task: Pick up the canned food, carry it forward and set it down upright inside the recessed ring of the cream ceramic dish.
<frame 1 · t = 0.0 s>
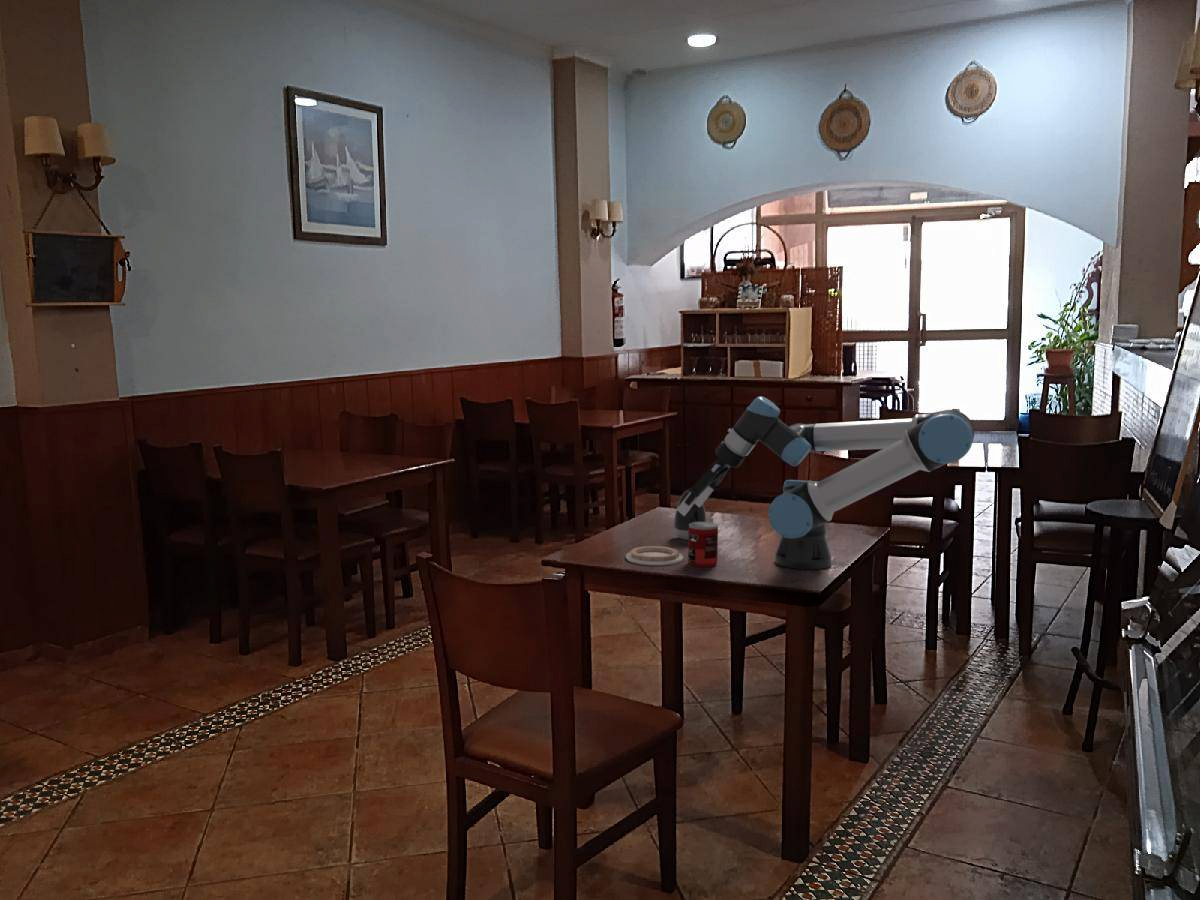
hand: (688, 508, 260), 15 cm above the table, tool tilted 35°, fingers open, 13 cm apart
dark grey rounded dome: (690, 539, 293), on the table
canned food: (702, 564, 262), on the table
dish: (654, 558, 267), on the table
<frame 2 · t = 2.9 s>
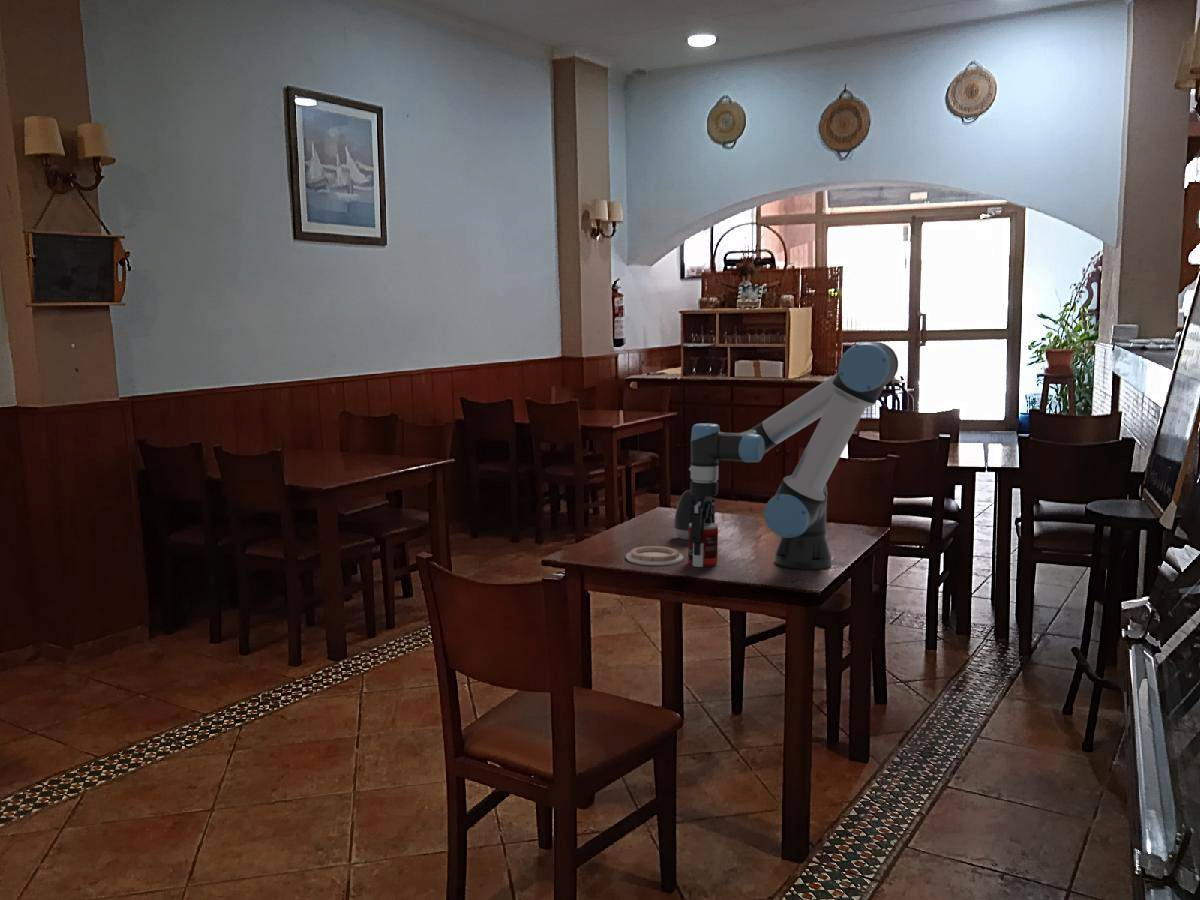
hand: (702, 562, 262), 0 cm above the table, tool pointing down, fingers closed on canned food, 8 cm apart
canned food: (702, 564, 262), on the table, touching gripper
everything else where it was.
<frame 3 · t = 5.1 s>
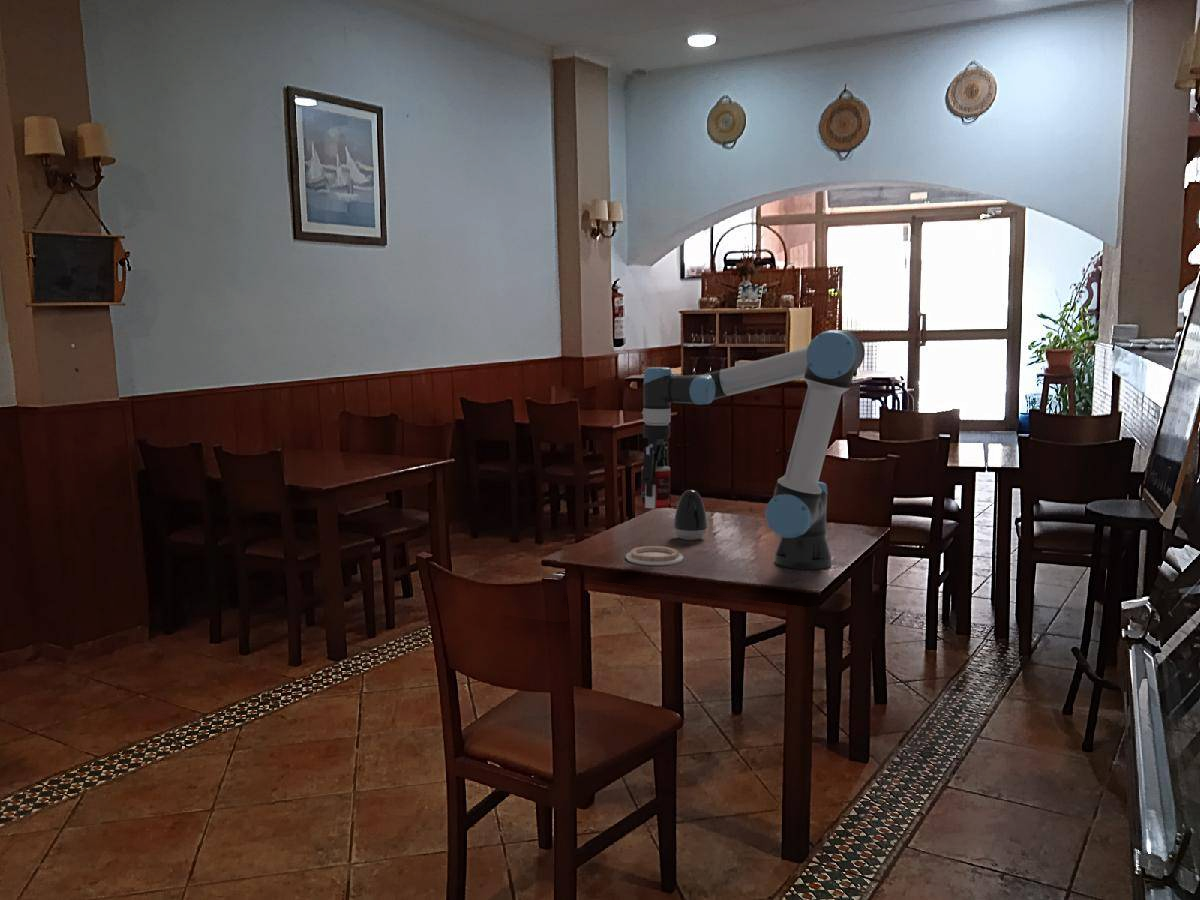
hand: (655, 505, 265), 15 cm above the table, tool pointing down, fingers closed on canned food, 8 cm apart
canned food: (655, 506, 266), point 15 cm above the table, touching gripper
everything else where it was.
when the fingers open (3 cm above the table, at t = 7.7 s): canned food drops 2 cm, resting on dish.
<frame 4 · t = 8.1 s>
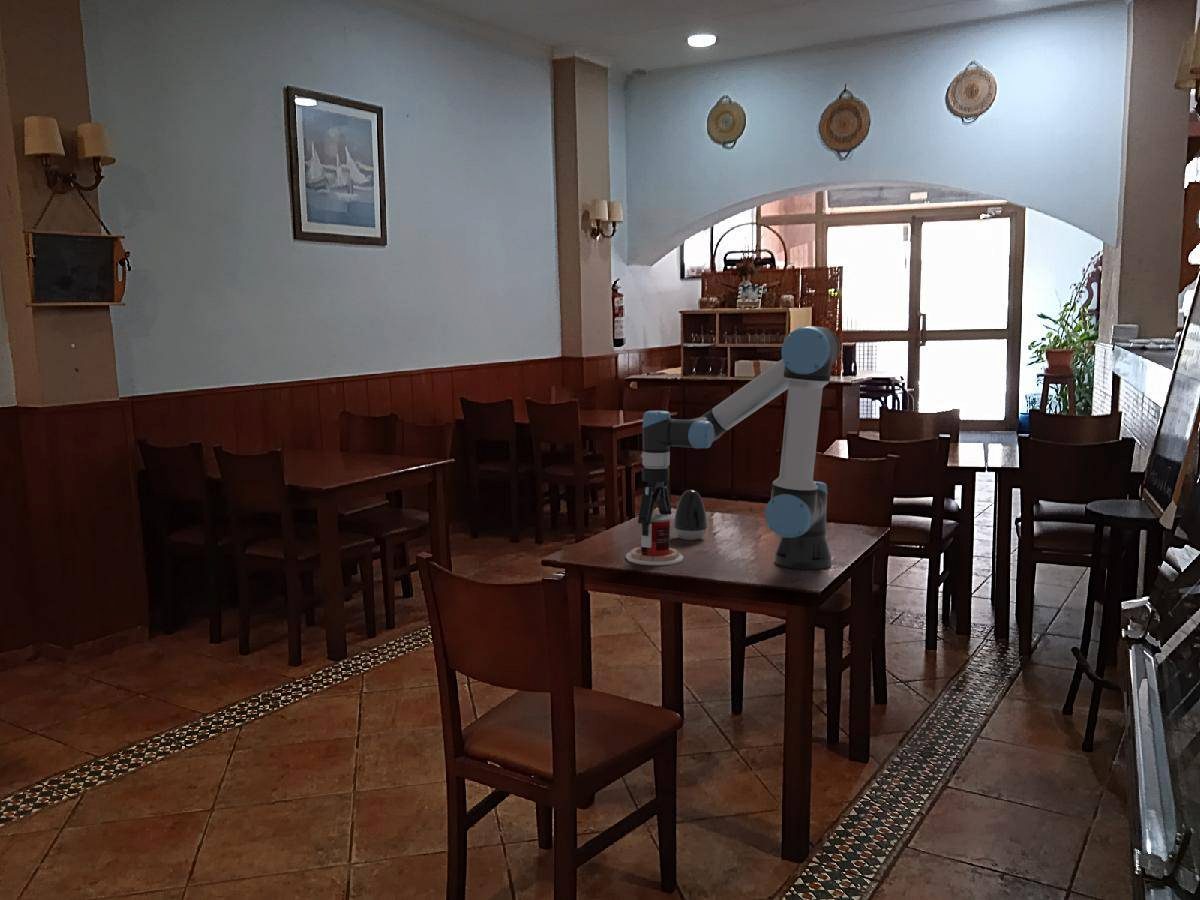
hand: (654, 542, 267), 5 cm above the table, tool pointing down, fingers open, 13 cm apart
canned food: (654, 556, 267), point 1 cm above the table, touching dish
everything else where it was.
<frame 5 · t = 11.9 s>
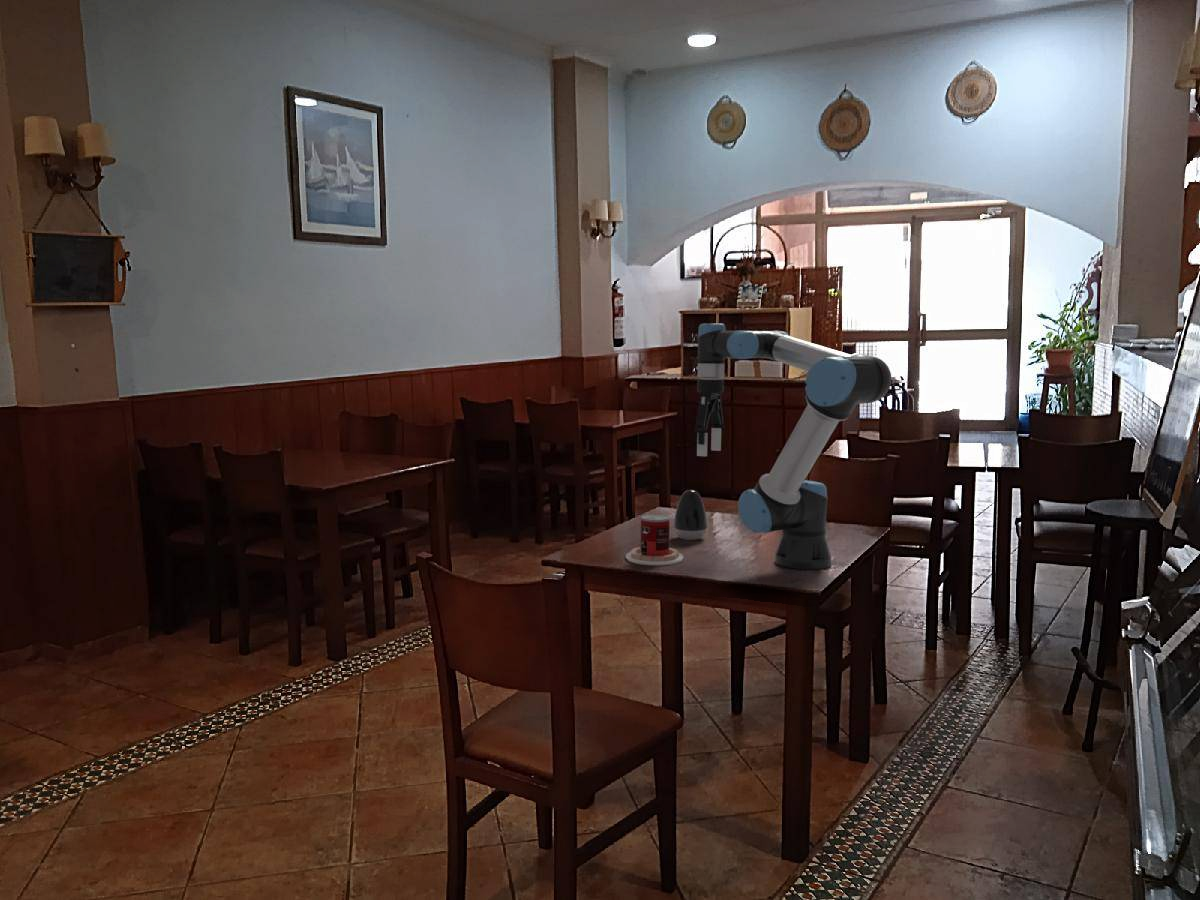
hand: (709, 453, 272), 29 cm above the table, tool pointing down, fingers open, 13 cm apart
nothing on the table moved.
at the end: canned food 0.1 cm from the dish (horizontally); canned food tilted 0°; canned food touching dish; the gripper is holding nothing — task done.
